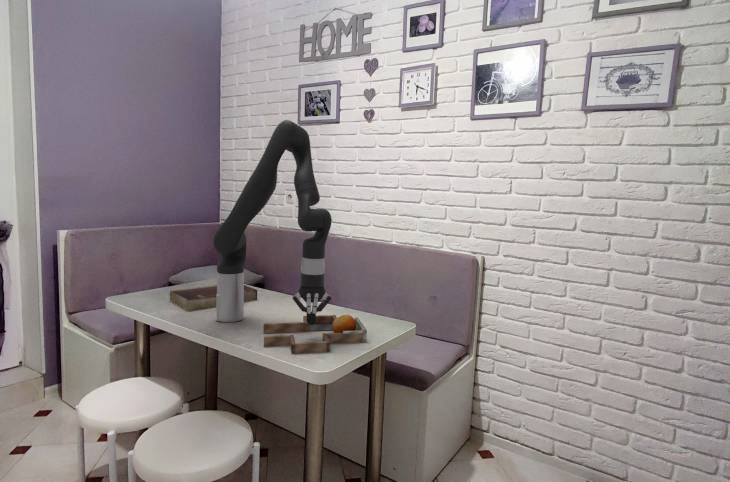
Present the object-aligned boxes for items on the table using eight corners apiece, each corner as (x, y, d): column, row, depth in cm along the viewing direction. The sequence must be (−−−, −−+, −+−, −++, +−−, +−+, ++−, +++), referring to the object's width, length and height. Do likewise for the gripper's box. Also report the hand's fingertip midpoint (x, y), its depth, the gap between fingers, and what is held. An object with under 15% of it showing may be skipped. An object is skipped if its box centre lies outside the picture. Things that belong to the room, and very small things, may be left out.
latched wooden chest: (236, 292, 202) (236, 281, 202) (257, 301, 189) (257, 289, 188) (169, 301, 183) (169, 289, 182) (188, 312, 169) (188, 299, 168)
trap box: (264, 355, 130) (264, 342, 129) (263, 325, 156) (263, 314, 156) (371, 350, 137) (372, 337, 136) (353, 322, 163) (353, 311, 163)
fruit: (361, 335, 145) (349, 315, 144) (340, 347, 146) (328, 326, 145) (361, 327, 153) (350, 308, 152) (341, 338, 154) (329, 319, 153)
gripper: (292, 273, 138) (290, 328, 140) (335, 273, 141) (332, 327, 143) (291, 268, 145) (289, 320, 148) (331, 269, 148) (329, 320, 150)
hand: (310, 323), depth 145 cm, fingers closed
